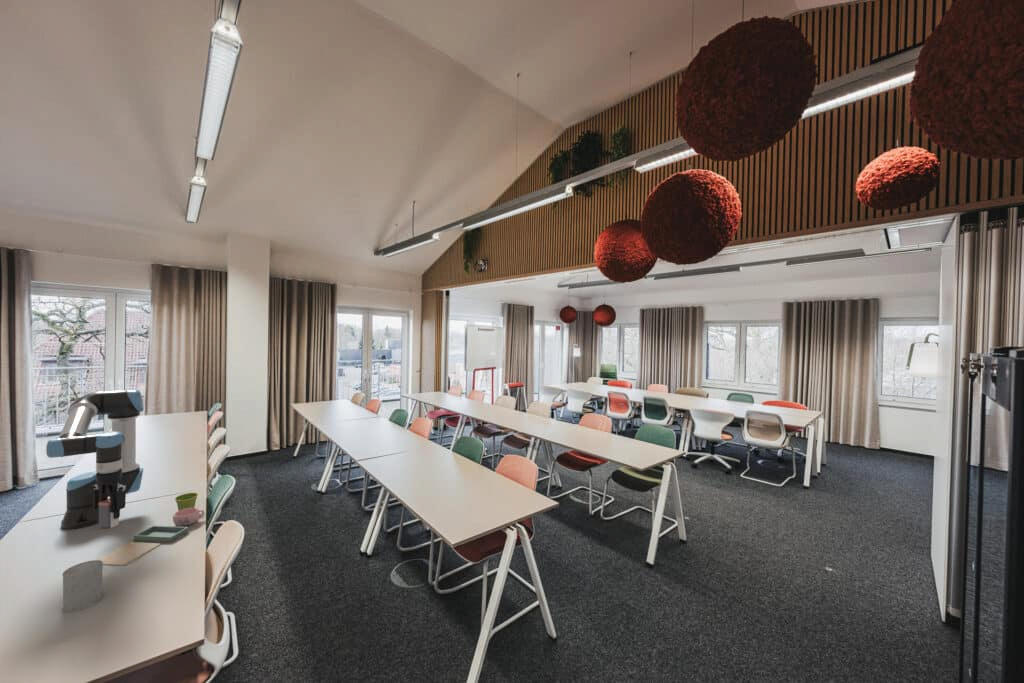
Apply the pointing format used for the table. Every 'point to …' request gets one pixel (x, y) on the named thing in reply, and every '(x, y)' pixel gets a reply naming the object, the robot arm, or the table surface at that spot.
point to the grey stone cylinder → (82, 585)
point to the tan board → (128, 553)
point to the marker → (105, 514)
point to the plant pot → (186, 501)
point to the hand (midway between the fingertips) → (108, 525)
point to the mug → (186, 516)
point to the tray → (161, 534)
